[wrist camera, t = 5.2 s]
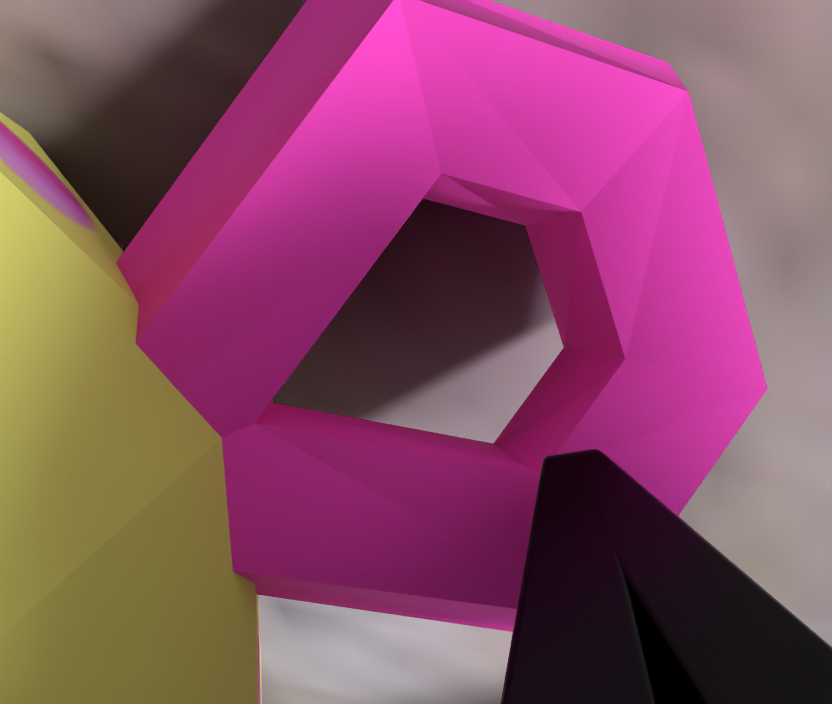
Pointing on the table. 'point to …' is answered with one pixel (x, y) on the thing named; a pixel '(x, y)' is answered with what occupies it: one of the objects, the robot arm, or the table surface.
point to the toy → (307, 319)
